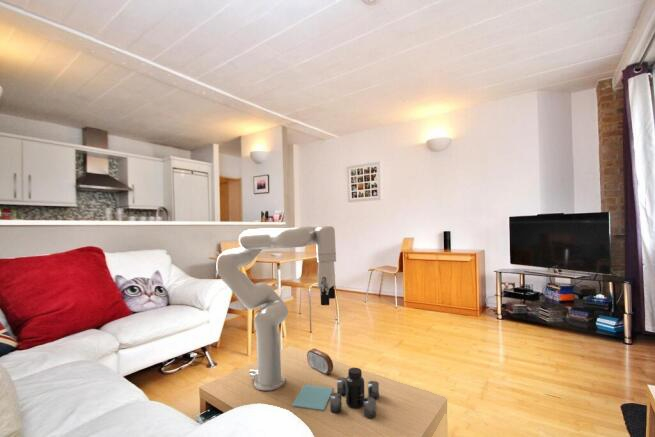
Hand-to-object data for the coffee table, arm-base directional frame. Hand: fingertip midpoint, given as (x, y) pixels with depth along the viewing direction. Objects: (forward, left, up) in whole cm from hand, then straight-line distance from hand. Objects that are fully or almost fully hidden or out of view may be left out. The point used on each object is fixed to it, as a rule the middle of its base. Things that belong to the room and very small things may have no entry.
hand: (328, 301), depth 120 cm
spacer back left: (+5, 0, -35) cm, 36 cm away
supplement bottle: (+11, -5, -35) cm, 37 cm away
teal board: (-5, -5, -35) cm, 36 cm away
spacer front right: (+17, -11, -35) cm, 41 cm away
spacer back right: (+17, 0, -35) cm, 39 cm away
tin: (-9, +15, -36) cm, 40 cm away
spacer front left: (+5, -11, -35) cm, 37 cm away
